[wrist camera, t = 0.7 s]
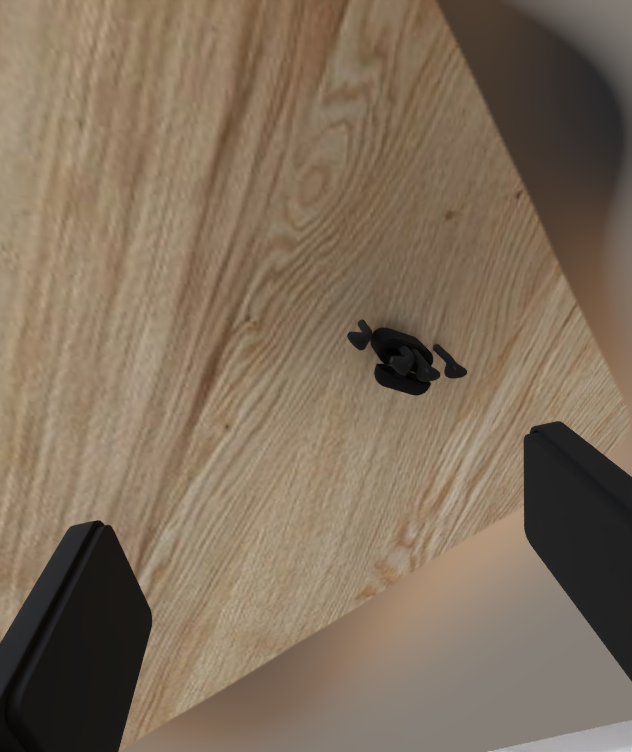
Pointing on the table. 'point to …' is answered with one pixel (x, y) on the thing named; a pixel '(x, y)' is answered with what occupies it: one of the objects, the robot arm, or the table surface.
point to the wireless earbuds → (403, 359)
